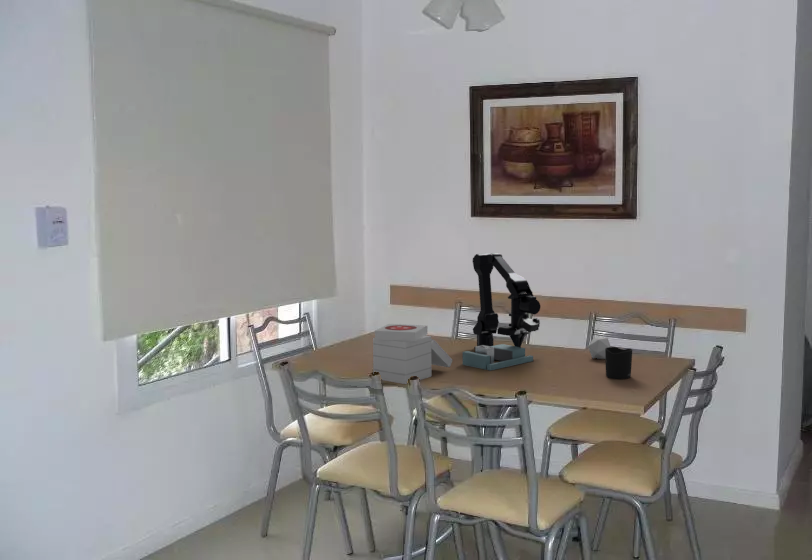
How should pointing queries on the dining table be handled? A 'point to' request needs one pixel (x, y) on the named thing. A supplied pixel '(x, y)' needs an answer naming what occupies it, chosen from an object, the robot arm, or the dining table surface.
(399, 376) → the pizza boxes
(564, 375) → the dining table surface
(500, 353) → the block
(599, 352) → the die
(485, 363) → the vise body
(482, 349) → the steel block
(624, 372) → the pen holder
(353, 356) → the dining table surface
